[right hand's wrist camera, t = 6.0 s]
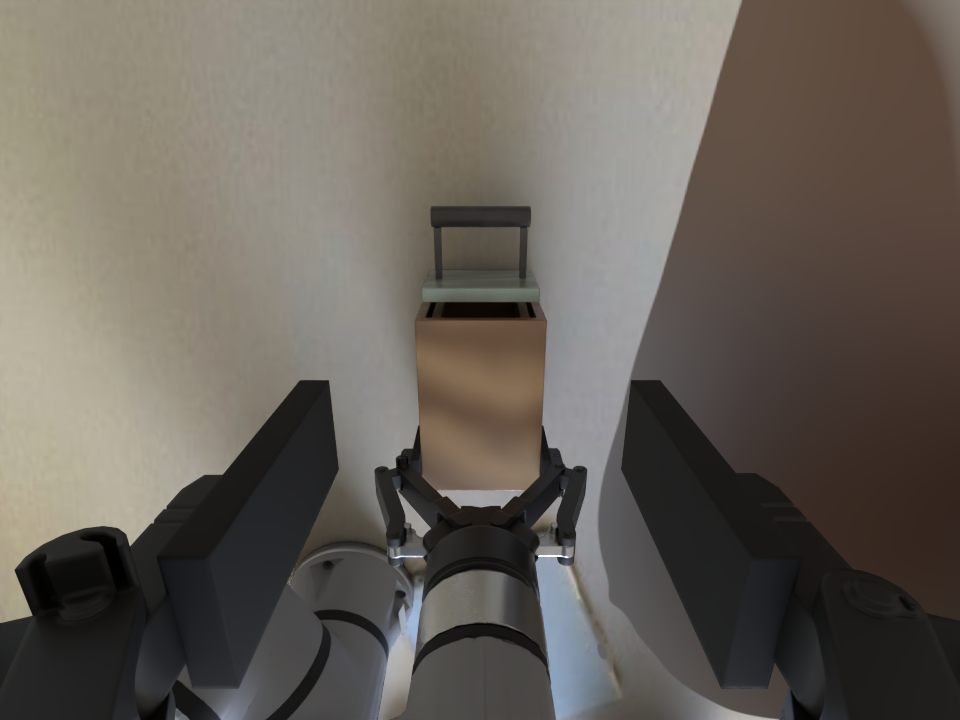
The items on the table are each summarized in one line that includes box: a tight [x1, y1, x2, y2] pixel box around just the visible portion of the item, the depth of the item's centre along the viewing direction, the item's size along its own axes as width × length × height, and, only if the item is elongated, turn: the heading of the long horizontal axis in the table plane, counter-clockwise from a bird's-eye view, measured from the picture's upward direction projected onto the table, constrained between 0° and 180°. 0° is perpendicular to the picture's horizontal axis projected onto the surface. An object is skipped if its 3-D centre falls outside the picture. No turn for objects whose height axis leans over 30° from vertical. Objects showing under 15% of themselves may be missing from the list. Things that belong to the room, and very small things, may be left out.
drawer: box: [422, 206, 540, 318], centre depth 49 cm, size 22×10×8 cm, turn 0°
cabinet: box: [415, 302, 547, 491], centre depth 51 cm, size 17×11×10 cm, turn 0°
